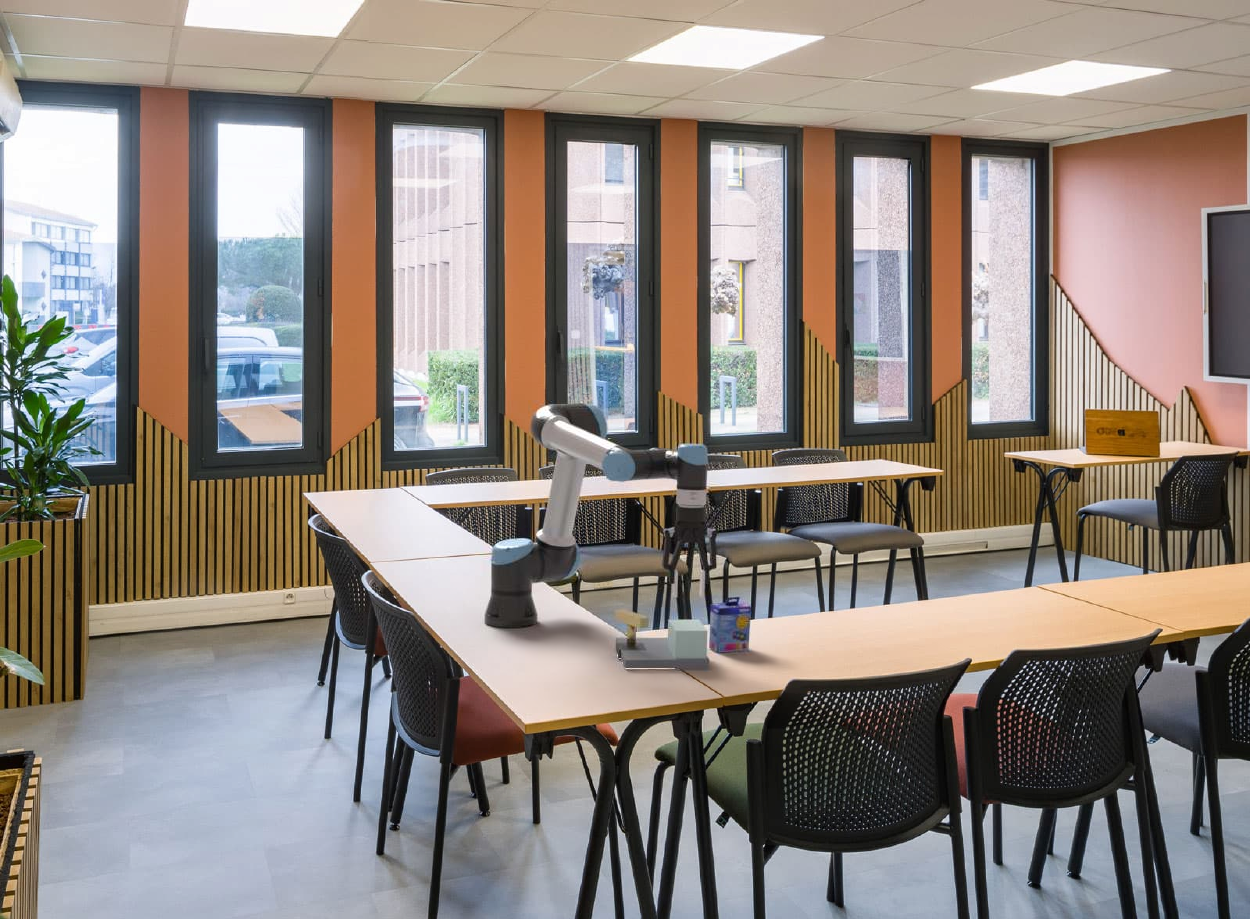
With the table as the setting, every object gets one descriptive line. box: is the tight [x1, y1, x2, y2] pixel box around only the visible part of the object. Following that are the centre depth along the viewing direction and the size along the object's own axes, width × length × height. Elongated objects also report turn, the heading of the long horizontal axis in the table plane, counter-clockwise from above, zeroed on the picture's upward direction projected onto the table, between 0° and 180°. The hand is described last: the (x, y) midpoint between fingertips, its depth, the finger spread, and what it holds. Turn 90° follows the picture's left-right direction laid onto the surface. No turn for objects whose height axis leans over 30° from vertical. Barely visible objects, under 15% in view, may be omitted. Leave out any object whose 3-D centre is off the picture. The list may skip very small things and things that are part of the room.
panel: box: [615, 637, 710, 671], centre depth 299 cm, size 22×22×3 cm
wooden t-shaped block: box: [614, 608, 650, 646], centre depth 299 cm, size 3×11×8 cm, turn 35°
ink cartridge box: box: [708, 596, 752, 654], centre depth 309 cm, size 10×6×14 cm, turn 113°
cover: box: [667, 619, 709, 659], centre depth 295 cm, size 12×8×7 cm, turn 7°
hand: (688, 596), depth 294 cm, fingers open, 6 cm apart
